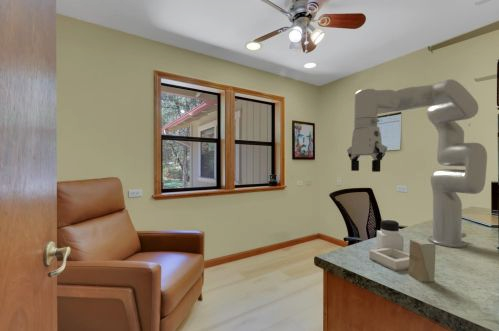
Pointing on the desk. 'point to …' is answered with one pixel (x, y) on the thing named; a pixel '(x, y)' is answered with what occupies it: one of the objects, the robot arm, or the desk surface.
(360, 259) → the desk surface
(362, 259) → the desk surface
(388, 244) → the medicine bottle
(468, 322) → the desk surface
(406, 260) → the shallow square tray
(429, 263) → the box
